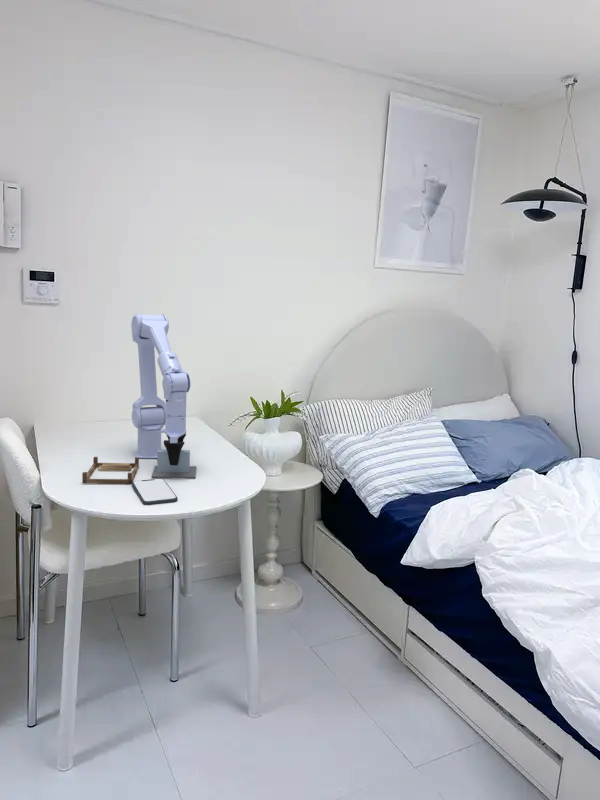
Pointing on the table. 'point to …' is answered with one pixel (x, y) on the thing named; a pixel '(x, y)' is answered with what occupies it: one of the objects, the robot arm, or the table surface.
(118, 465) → the offcut stack
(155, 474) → the mat
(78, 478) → the table surface
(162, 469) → the panel
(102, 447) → the table surface
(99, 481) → the frame
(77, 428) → the table surface
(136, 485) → the phone case
